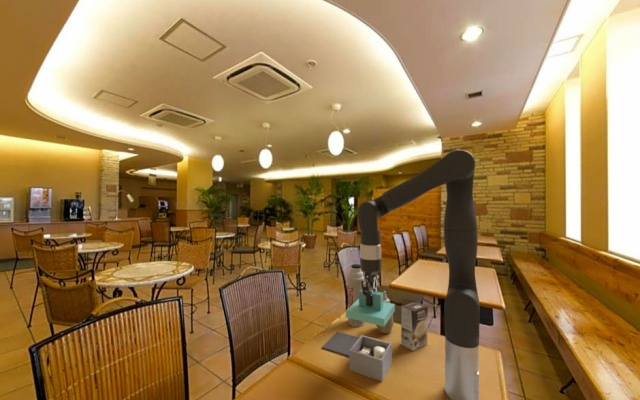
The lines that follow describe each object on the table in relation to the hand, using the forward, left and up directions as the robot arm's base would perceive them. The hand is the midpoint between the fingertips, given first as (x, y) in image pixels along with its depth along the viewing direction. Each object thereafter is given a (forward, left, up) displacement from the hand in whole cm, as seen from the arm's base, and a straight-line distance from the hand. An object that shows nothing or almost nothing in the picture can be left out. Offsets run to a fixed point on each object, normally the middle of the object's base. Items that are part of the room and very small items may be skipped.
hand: (371, 303), depth 97 cm
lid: (0, 0, -4) cm, 4 cm away
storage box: (0, 0, -23) cm, 23 cm away
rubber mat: (+14, -8, -23) cm, 28 cm away
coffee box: (-11, -22, -23) cm, 34 cm away
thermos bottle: (+17, -28, -23) cm, 40 cm away
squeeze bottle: (+3, -27, -23) cm, 36 cm away
